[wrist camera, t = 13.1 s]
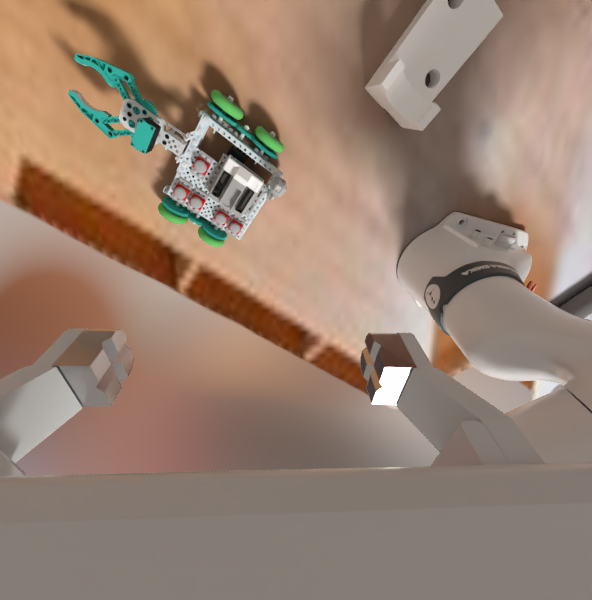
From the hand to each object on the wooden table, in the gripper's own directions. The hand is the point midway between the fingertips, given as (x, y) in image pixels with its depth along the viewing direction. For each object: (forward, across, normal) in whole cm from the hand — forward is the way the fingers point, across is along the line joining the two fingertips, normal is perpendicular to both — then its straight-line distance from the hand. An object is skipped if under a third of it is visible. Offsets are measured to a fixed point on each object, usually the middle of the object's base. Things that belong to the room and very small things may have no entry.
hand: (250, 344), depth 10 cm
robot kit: (+38, -11, 0) cm, 39 cm away
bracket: (+38, +18, +13) cm, 44 cm away
